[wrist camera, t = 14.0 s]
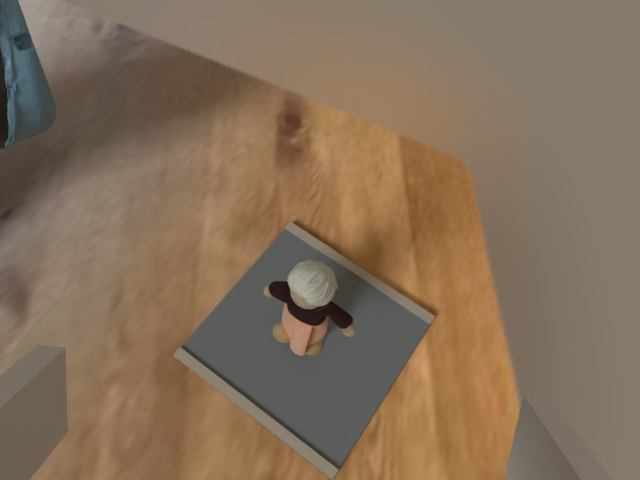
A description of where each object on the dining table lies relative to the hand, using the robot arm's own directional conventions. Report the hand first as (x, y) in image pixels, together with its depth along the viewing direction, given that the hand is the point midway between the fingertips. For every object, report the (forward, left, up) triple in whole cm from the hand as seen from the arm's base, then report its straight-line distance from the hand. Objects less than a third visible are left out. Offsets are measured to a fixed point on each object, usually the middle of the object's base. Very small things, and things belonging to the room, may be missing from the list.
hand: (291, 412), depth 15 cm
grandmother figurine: (-5, +10, -27) cm, 29 cm away
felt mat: (-5, +10, -27) cm, 30 cm away
